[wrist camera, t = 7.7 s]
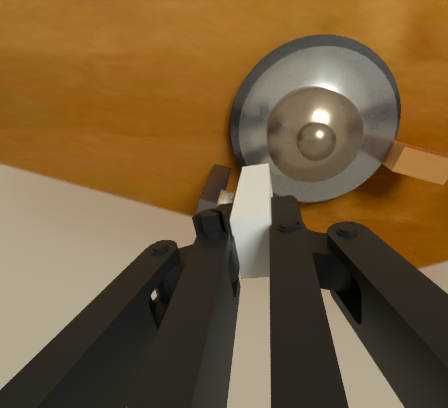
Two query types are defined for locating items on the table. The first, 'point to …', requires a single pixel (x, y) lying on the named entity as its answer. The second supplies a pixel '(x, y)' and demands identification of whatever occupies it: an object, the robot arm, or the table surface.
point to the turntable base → (289, 49)
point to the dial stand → (216, 189)
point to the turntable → (365, 103)
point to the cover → (313, 134)
